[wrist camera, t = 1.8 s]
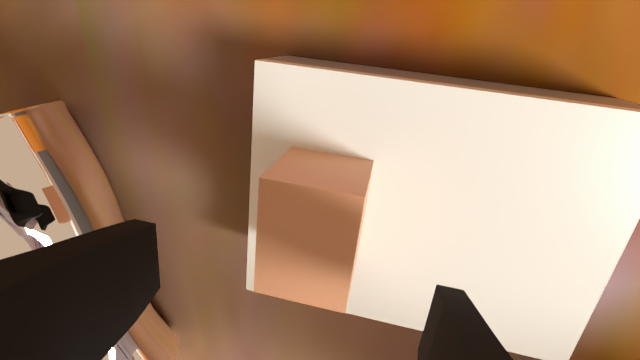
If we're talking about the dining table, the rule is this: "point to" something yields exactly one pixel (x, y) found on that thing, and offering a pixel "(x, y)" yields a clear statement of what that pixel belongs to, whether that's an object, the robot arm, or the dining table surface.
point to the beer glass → (63, 204)
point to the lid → (438, 200)
